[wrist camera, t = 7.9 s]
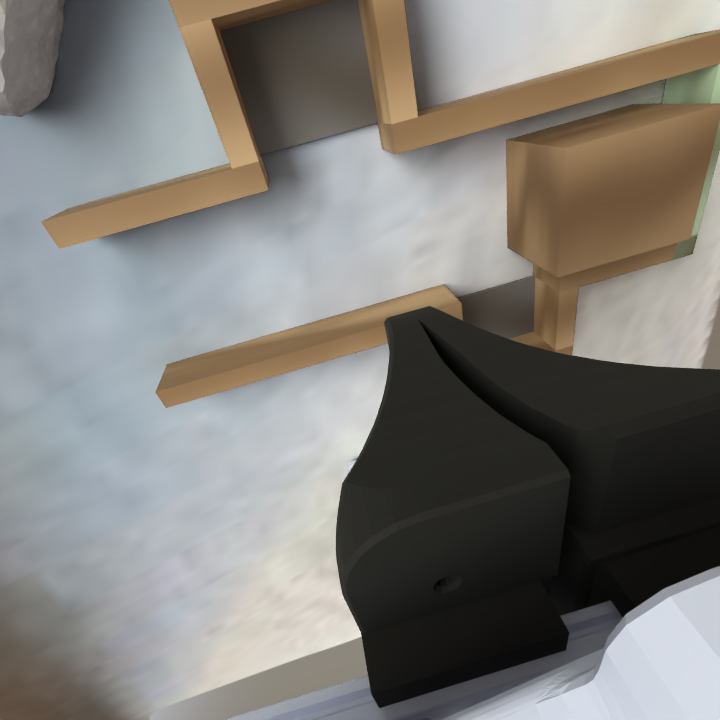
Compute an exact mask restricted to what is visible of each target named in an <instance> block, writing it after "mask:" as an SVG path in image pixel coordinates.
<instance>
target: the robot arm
mask: <svg viewBox="0 0 720 720" xmlns="http://www.w3.org/2000/svg"><path fill="white" fill-rule="evenodd" d="M384 326H385V330H386V335H387V340H388V345H389V350H390V356H389V366H388V375H387V381H386V386H385V390H384V395H383V399H382V402H381V405H380V408H379V411H378V415H377V417H376V420H375V423H374V425H373V428H372V430H371V432H370V434H369V436H368V439H367V441H366V443H365V445H364V447H363V449H362V451H361V453H360V455H359V457H358V458H357V459H356V460H353V461H351V462H350V463H349V464H348V469H349V473H348V475H347V477H346V478H345V480H344V482H343V483H342V489H341V495H340V501H339V508H338V516H337V527H336V558H337V565H338V572H339V578H340V584H341V589H342V594H343V596H344V599H345V601H346V603H347V605H348V607H349V609H350V611H351V613H352V615H353V617H354V619H355V621H356V623H357V625H358V627H359V629H360V631H361V635H362V640H363V647H364V652H365V658H366V665H367V671H368V675H367V676H363V677H360V678H357V679H354V680H350V681H347V682H344V683H341V684H337V685H334V686H331V687H328V688H324V689H321V690H318V691H315V692H311V693H308V694H305V695H302V696H299V697H295V698H292V699H289V700H285V701H283V702H279V703H276V704H273V705H269V706H266V707H263V708H259V709H257V710H253V711H250V712H246V713H243V714H240V715H237V716H233V717H230V718H227V719H224V720H720V370H715V369H694V368H672V367H654V366H644V365H634V364H625V363H616V362H608V361H601V360H594V359H589V358H583V357H578V356H572V355H567V354H562V353H557V352H553V351H549V350H545V349H541V348H537V347H534V346H530V345H526V344H523V343H520V342H516V341H513V340H510V339H508V338H505V337H502V336H499V335H496V334H493V333H491V332H488V331H486V330H483V329H481V328H478V327H476V326H474V325H471V324H469V323H467V322H465V321H462V320H460V319H458V318H456V317H454V316H451V315H449V314H447V313H445V312H443V311H441V310H439V309H436V308H434V307H431V306H427V307H424V308H420V309H416V310H413V311H409V312H406V313H402V314H398V315H395V316H391V317H388V318H387V319H386V320H385V321H384Z"/></svg>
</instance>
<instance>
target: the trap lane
mask: <svg viewBox="0 0 720 720" xmlns="http://www.w3.org/2000/svg"><path fill="white" fill-rule="evenodd" d="M169 2H170V5H171V8H172V10H173V13H174V16H175V18H176V21H177V24H178V26H179V29H180V32H181V34H182V37H183V40H184V42H185V45H186V48H187V50H188V53H189V56H190V58H191V61H192V64H193V66H194V69H195V72H196V74H197V77H198V80H199V82H200V85H201V88H202V90H203V93H204V96H205V98H206V101H207V104H208V106H209V109H210V112H211V114H212V117H213V120H214V122H215V125H216V128H217V130H218V133H219V136H220V138H221V141H222V144H223V146H224V149H225V152H226V154H227V157H228V160H229V162H230V163H229V164H226V165H222V166H218V167H215V168H211V169H208V170H204V171H200V172H197V173H193V174H190V175H186V176H182V177H179V178H175V179H172V180H168V181H164V182H161V183H157V184H154V185H150V186H147V187H143V188H139V189H136V190H132V191H129V192H125V193H121V194H118V195H114V196H111V197H107V198H103V199H100V200H96V201H93V202H89V203H85V204H82V205H78V206H75V207H71V208H69V209H66V210H64V211H62V212H60V213H58V214H56V215H54V216H52V217H50V218H48V219H46V220H44V221H42V222H41V223H42V224H43V225H44V227H45V228H46V230H47V231H48V233H49V234H50V236H51V237H52V239H53V240H54V242H55V243H56V245H57V246H58V248H59V249H60V248H64V247H67V246H71V245H75V244H78V243H82V242H85V241H89V240H92V239H96V238H100V237H103V236H107V235H110V234H114V233H117V232H121V231H125V230H128V229H132V228H135V227H139V226H142V225H146V224H150V223H153V222H157V221H160V220H164V219H167V218H171V217H175V216H178V215H182V214H185V213H189V212H192V211H196V210H199V209H203V208H207V207H210V206H214V205H217V204H221V203H224V202H228V201H232V200H235V199H239V198H242V197H246V196H249V195H253V194H257V193H260V192H264V191H267V190H268V189H269V178H268V175H267V172H266V169H265V166H264V163H263V160H262V157H261V155H263V154H267V153H270V152H274V151H278V150H281V149H285V148H288V147H292V146H296V145H299V144H303V143H306V142H310V141H314V140H317V139H321V138H324V137H328V136H332V135H335V134H339V133H342V132H346V131H350V130H353V129H357V128H360V127H364V126H368V125H371V124H375V123H378V127H379V133H380V139H381V145H382V149H384V150H387V151H389V152H392V153H394V154H399V153H403V152H406V151H410V150H414V149H417V148H421V147H424V146H428V145H431V144H435V143H439V142H442V141H446V140H449V139H453V138H456V137H460V136H464V135H467V134H471V133H474V132H478V131H481V130H485V129H488V128H492V127H496V126H499V125H503V124H506V123H510V122H513V121H517V120H521V119H524V118H528V117H531V116H535V115H538V114H542V113H546V112H549V111H553V110H556V109H560V108H563V107H567V106H571V105H574V104H578V103H581V102H585V101H588V100H592V99H596V98H599V97H603V96H606V95H610V94H613V93H617V92H621V91H624V90H628V89H631V88H635V87H638V86H642V85H645V84H649V83H653V82H656V81H660V80H663V79H666V84H665V90H664V96H663V101H662V104H701V103H720V30H715V31H709V32H704V33H698V34H694V35H690V36H686V37H683V38H679V39H676V40H672V41H668V42H665V43H661V44H658V45H654V46H650V47H647V48H643V49H640V50H636V51H632V52H629V53H625V54H622V55H618V56H614V57H611V58H607V59H604V60H600V61H596V62H593V63H589V64H586V65H582V66H578V67H575V68H571V69H568V70H564V71H560V72H557V73H553V74H550V75H546V76H542V77H539V78H535V79H532V80H528V81H524V82H521V83H517V84H514V85H510V86H506V87H503V88H499V89H496V90H492V91H488V92H485V93H481V94H478V95H474V96H470V97H467V98H463V99H460V100H456V101H452V102H449V103H445V104H442V105H438V106H434V107H431V108H427V109H424V110H420V111H417V104H416V96H415V88H414V79H413V71H412V63H411V55H410V46H409V38H408V30H407V22H406V14H405V5H404V0H169ZM719 150H720V122H719V126H718V130H717V134H716V138H715V142H714V146H713V150H712V154H711V158H710V162H709V166H708V170H707V174H706V178H705V182H704V186H703V190H702V194H701V198H700V202H699V206H698V210H697V214H696V218H695V222H694V226H693V231H692V235H691V239H688V240H685V241H681V242H678V243H675V244H671V245H668V246H664V247H661V248H657V249H654V250H651V251H647V252H644V253H640V254H637V255H633V256H630V257H627V258H623V259H620V260H616V261H613V262H609V263H606V264H603V265H599V266H596V267H592V268H589V269H585V270H582V271H579V272H575V273H572V274H568V275H565V276H562V277H558V278H557V277H556V276H554V275H552V274H551V273H549V272H547V271H546V270H544V269H542V268H541V267H539V266H537V265H536V264H534V267H533V276H531V277H527V278H524V279H520V280H517V281H514V282H510V283H507V284H503V285H500V286H496V287H493V288H489V289H486V290H483V291H479V292H476V293H472V294H469V295H465V296H462V297H459V298H456V297H455V296H454V295H453V294H452V293H451V292H450V291H449V290H448V288H447V287H446V286H445V285H440V286H437V287H433V288H430V289H426V290H423V291H419V292H416V293H413V294H409V295H406V296H402V297H399V298H395V299H392V300H388V301H385V302H382V303H378V304H375V305H371V306H368V307H364V308H361V309H357V310H354V311H350V312H347V313H344V314H340V315H337V316H333V317H330V318H326V319H323V320H319V321H316V322H312V323H309V324H306V325H302V326H299V327H295V328H292V329H288V330H285V331H281V332H278V333H274V334H271V335H268V336H264V337H261V338H257V339H254V340H250V341H247V342H243V343H240V344H237V345H233V346H230V347H226V348H223V349H219V350H216V351H212V352H209V353H205V354H202V355H199V356H195V357H192V358H188V359H185V360H181V361H178V362H174V363H171V364H167V366H166V369H165V371H164V373H163V376H162V378H161V380H160V383H159V385H158V387H157V390H156V394H157V395H158V397H159V398H160V400H161V401H162V403H163V404H164V406H165V407H166V408H167V407H171V406H174V405H178V404H181V403H185V402H188V401H191V400H195V399H198V398H202V397H205V396H209V395H212V394H215V393H219V392H222V391H226V390H229V389H232V388H236V387H239V386H243V385H246V384H250V383H253V382H256V381H260V380H263V379H267V378H270V377H273V376H277V375H280V374H284V373H287V372H291V371H294V370H297V369H301V368H304V367H308V366H311V365H315V364H318V363H321V362H325V361H328V360H332V359H335V358H338V357H342V356H345V355H349V354H352V353H356V352H359V351H362V350H366V349H369V348H373V347H376V346H380V345H383V344H386V343H388V340H387V335H386V330H385V326H384V321H385V320H386V319H387V318H388V317H391V316H395V315H398V314H402V313H406V312H409V311H413V310H416V309H420V308H424V307H427V306H431V307H434V308H436V309H439V310H441V311H443V312H445V313H447V314H449V315H451V316H454V317H456V318H458V319H460V320H462V321H465V322H467V323H469V324H471V325H474V326H476V327H478V328H481V329H483V330H486V331H488V332H491V333H493V334H496V335H499V336H502V337H505V338H508V339H510V340H513V341H516V342H520V343H523V344H526V345H530V346H534V347H537V348H541V349H545V350H549V351H553V352H557V353H562V354H567V355H572V351H573V341H574V331H575V320H576V310H577V299H578V289H579V287H581V286H585V285H588V284H592V283H595V282H598V281H602V280H605V279H609V278H612V277H615V276H619V275H622V274H626V273H629V272H633V271H636V270H639V269H643V268H646V267H650V266H653V265H657V264H660V263H663V262H667V261H670V260H674V259H677V258H680V257H684V256H687V255H691V254H693V250H694V247H695V243H696V239H697V235H698V231H699V227H700V223H701V220H702V216H703V212H704V208H705V204H706V200H707V196H708V193H709V189H710V185H711V181H712V177H713V173H714V170H715V166H716V162H717V158H718V154H719Z"/></svg>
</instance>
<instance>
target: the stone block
mask: <svg viewBox="0 0 720 720" xmlns="http://www.w3.org/2000/svg"><path fill="white" fill-rule="evenodd" d="M65 1H66V0H0V115H5V116H19V117H22V116H23V115H25V114H27V113H29V112H30V111H32V110H33V109H35V108H36V107H37V106H38V105H39V104H41V103H42V102H43V101H44V100H45V99H47V98H48V97H49V94H50V90H51V87H52V84H53V80H54V76H55V64H56V62H57V60H58V58H59V42H60V39H61V36H62V30H63V24H64V13H63V7H64V4H65Z"/></svg>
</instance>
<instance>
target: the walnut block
mask: <svg viewBox="0 0 720 720" xmlns="http://www.w3.org/2000/svg"><path fill="white" fill-rule="evenodd" d="M719 122H720V103H701V104H632V105H629V106H625V107H622V108H618V109H614V110H611V111H607V112H604V113H600V114H597V115H593V116H590V117H586V118H583V119H579V120H576V121H572V122H568V123H565V124H561V125H558V126H554V127H551V128H547V129H544V130H540V131H537V132H533V133H530V134H526V135H522V136H519V137H515V138H512V139H508V140H506V168H507V237H508V248H509V249H511V250H513V251H514V252H516V253H517V254H519V255H521V256H522V257H524V258H526V259H527V260H529V261H531V262H532V263H534V264H536V265H537V266H539V267H541V268H542V269H544V270H546V271H547V272H549V273H551V274H552V275H554V276H556V277H557V278H558V277H562V276H565V275H568V274H572V273H575V272H579V271H582V270H585V269H589V268H592V267H596V266H599V265H603V264H606V263H609V262H613V261H616V260H620V259H623V258H627V257H630V256H633V255H637V254H640V253H644V252H647V251H651V250H654V249H657V248H661V247H664V246H668V245H671V244H675V243H678V242H681V241H685V240H688V239H691V235H692V231H693V226H694V222H695V218H696V214H697V210H698V206H699V202H700V198H701V194H702V190H703V186H704V182H705V178H706V174H707V170H708V166H709V162H710V158H711V154H712V150H713V146H714V142H715V138H716V134H717V130H718V126H719Z"/></svg>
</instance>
